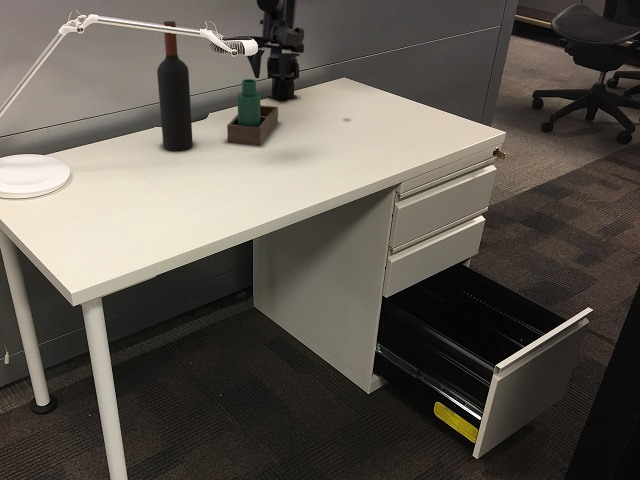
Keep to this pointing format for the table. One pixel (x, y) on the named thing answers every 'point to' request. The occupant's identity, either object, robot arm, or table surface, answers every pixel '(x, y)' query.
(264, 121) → the carrier
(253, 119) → the bottle
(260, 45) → the robot arm
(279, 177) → the table surface
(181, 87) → the wine bottle
